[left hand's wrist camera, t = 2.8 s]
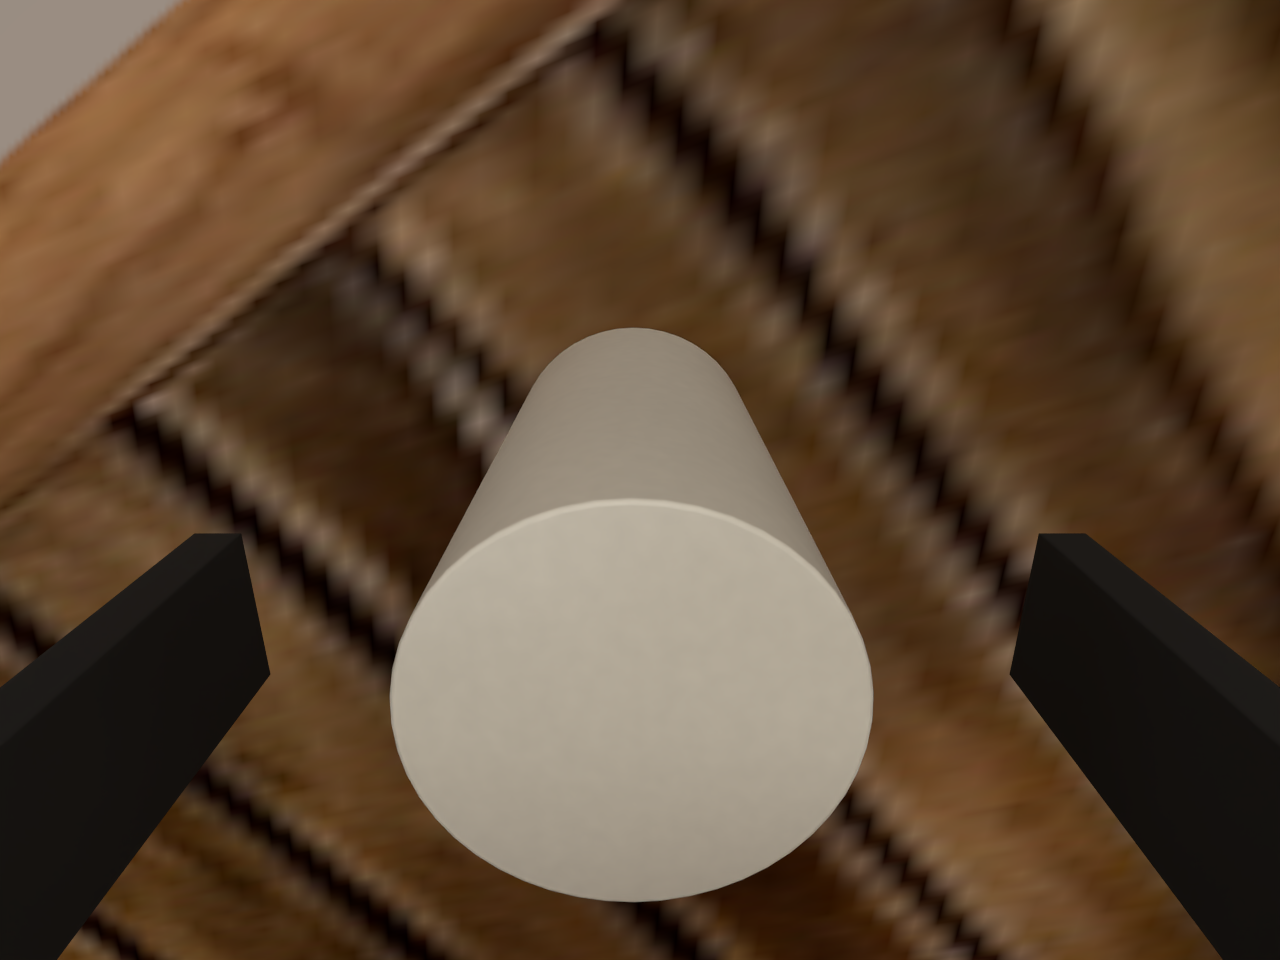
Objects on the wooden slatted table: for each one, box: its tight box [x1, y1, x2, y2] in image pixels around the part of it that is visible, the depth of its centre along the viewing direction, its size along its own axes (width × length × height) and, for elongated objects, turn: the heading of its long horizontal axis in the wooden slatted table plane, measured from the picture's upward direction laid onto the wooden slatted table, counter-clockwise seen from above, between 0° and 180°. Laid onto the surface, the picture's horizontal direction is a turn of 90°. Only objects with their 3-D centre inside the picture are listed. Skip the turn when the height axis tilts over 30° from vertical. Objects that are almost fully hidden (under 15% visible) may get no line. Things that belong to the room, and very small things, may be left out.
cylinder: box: [390, 328, 874, 902], centre depth 16 cm, size 7×7×13 cm
